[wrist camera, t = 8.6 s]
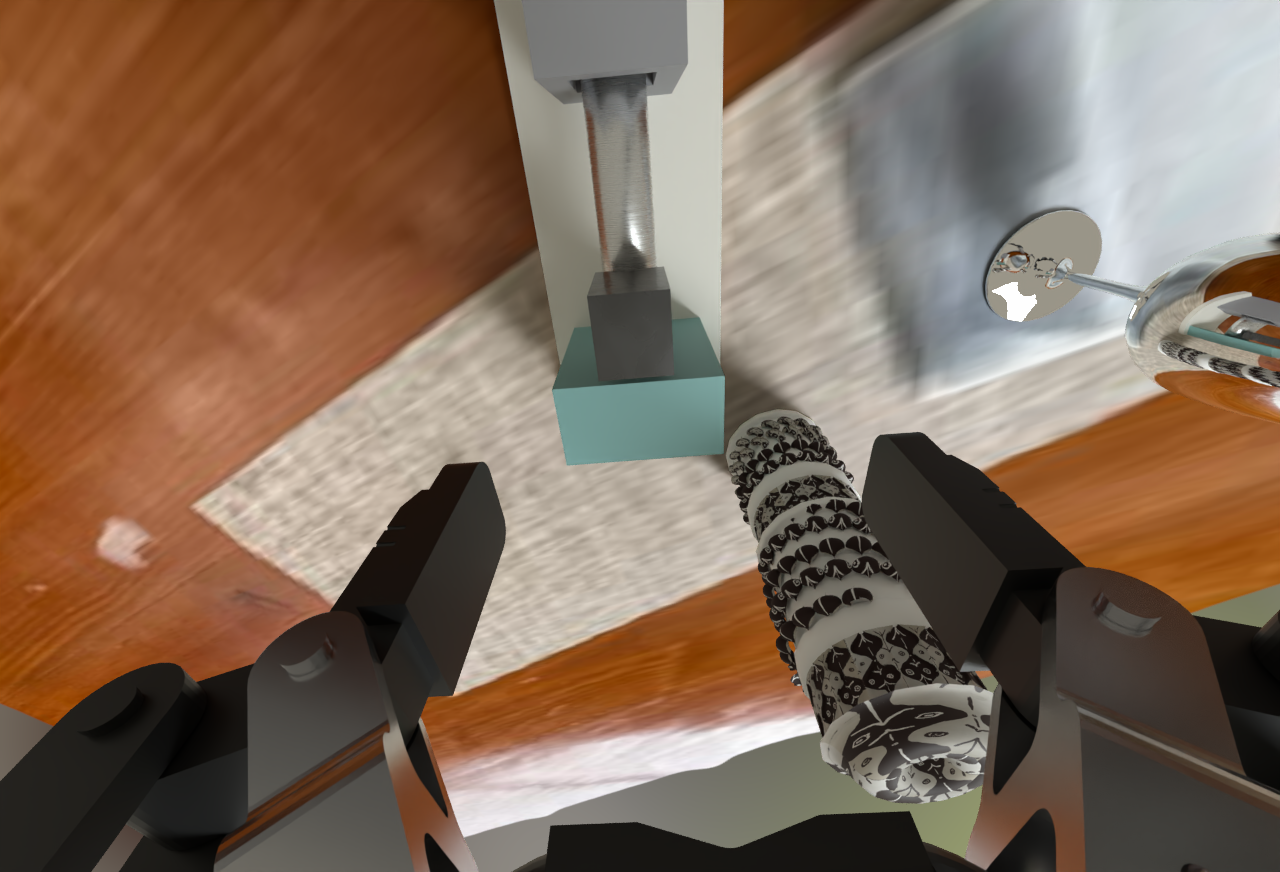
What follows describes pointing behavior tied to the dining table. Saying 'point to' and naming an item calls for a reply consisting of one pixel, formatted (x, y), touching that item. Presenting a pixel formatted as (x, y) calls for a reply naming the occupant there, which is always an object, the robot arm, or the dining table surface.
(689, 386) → the socket
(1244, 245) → the wineglass
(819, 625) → the decorative candle
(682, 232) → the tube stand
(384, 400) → the dining table surface
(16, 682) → the dining table surface
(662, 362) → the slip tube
